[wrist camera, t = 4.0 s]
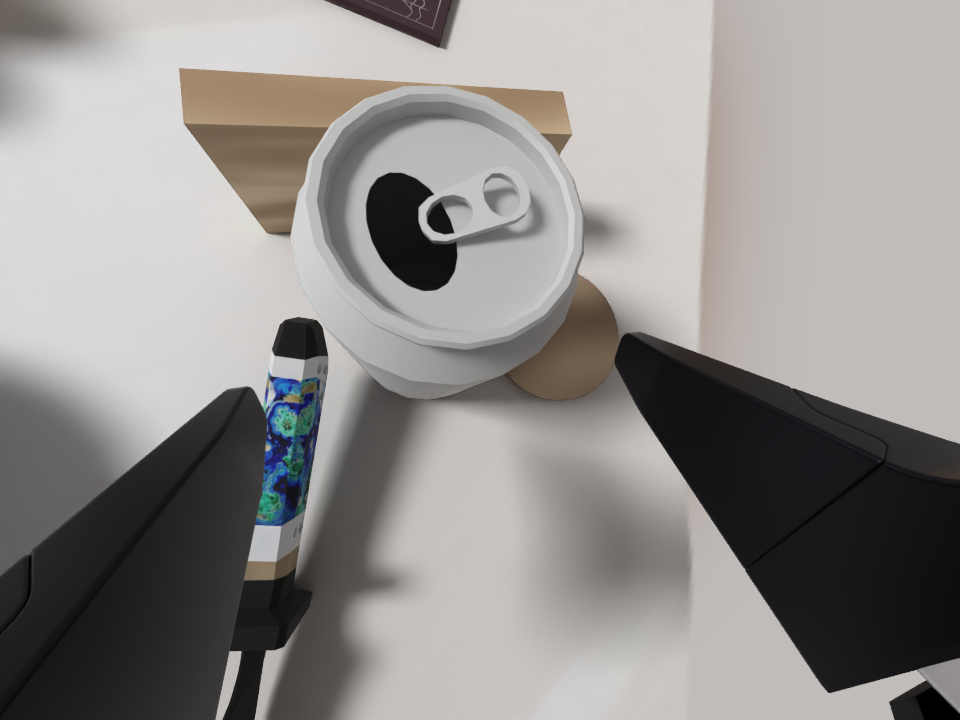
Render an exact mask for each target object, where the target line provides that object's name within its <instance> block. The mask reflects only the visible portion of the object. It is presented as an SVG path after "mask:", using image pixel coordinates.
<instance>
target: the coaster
mask: <svg viewBox="0 0 960 720" xmlns="http://www.w3.org/2000/svg"><path fill="white" fill-rule="evenodd" d="M617 349H618V330H617V324H616V320H615V317H614V314H613V312H612V309H611V307H610V305H609V303H608V302H607V300H606V298H605V297H604V296H603V294H602V293H601V292H600V291H599V290H598V289H597V288H596V286H594V285H593V284H592V283H591V282H590V281H588V280H587V279H585V278H584V277H582V276H580V275H579V274H578V283H577V287H576V290H575V293H574V296H573V298H572V301H571V304H570V307H569V310H568V312H567V315H566V318H565V321H564V322H563V323H562V325H561V326H560V327H559V328H558V330H557V331H556V332H555V333H554V335H553V336H552V337H551V338H550V340H549V341H548V342H547V343H546V345H545V346H544V347H543V348H542V349H541V351H540V352H539V353H537V354H536V355H534V356H533V357H531V358H529V359H528V360H526V361H525V362H523V363H521V364H520V365H518V366H516V367H515V368H513V369H512V370H510V371H508V372H507V373H506V374H507V375H508V376H509V377H510V378H511V379H512V380H513V381H514V383H516V384H517V385H518V386H519V387H521V388H522V389H524V390H525V391H527V392H529V393H531V394H533V395H535V396H538V397H541V398H545V399H552V400H565V399H572V398H576V397H580V396H582V395H584V394H587V393H589V392H590V391H592V390H593V389H595V388H596V387H597V386H598V385H599V384H601V383H602V381H603V380H604V379H605V378H606V377H607V375H608V373H609V372H610V370H611V368H612V366H613V364H614V359H615V355H616V352H617Z"/></svg>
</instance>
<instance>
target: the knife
mask: <svg viewBox="0 0 960 720" xmlns="http://www.w3.org/2000/svg"><path fill="white" fill-rule="evenodd" d="M327 373H328V353H327V348H326V343H325V338H324V333H323V328H322V326H321V325H320V324H319V322H318V321H317V320H313V319H307V318H300V317H297V318H292V319H287V320H285V321H284V322H283V323H281V324H280V326H279V329H278V332H277V335H276V339H275V342H274V345H273V348H272V353H271V359H270V365H269V372H268V379H267V386H266V393H265V400H264V407H263V409H264V411H265V413H266V417H267V435H266V449H265V463H264V477H263V487H262V494H261V499H260V504H259V509H258V514H257V519H256V524H255V529H254V534H253V538H252V543H251V548H250V553H249V558H248V563H247V568H246V573H245V577H244V582H243V587H242V592H241V597H240V602H239V607H238V612H237V616H236V621H235V626H234V631H233V636H232V641H231V646H230V651H242V653H241V661H240V666H239V671H238V675H237V679H236V683H235V686H234V690H233V693H232V696H231V700H230V703H229V705H228V707H227V710H226V712H225V715H224V717H223V720H254V719H255V713H256V707H257V700H258V694H259V687H260V681H261V674H262V668H263V661H264V657H265V653H266V650H276V649H279V648H282V647H284V646H285V644H286V643H287V641H288V639H289V638H290V636H291V635H292V633H293V632H294V630H295V628H296V627H297V625H298V624H299V622H300V621H301V619H302V617H303V616H304V614H305V613H306V611H307V610H308V608H309V606H310V601H311V596H312V592H310V591H306V590H297V589H293V584H294V577H295V571H296V564H297V558H298V552H299V546H300V540H301V533H302V528H303V521H304V515H305V509H306V503H307V497H308V490H309V484H310V478H311V472H312V466H313V459H314V453H315V447H316V441H317V435H318V429H319V423H320V416H321V410H322V404H323V398H324V392H325V386H326V379H327Z"/></svg>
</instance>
